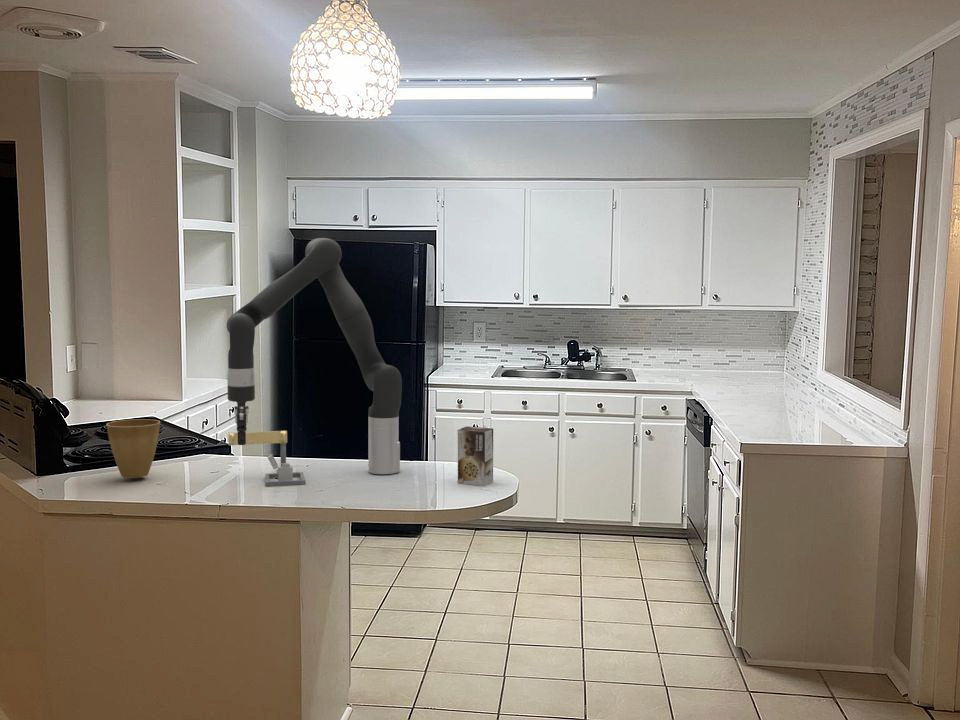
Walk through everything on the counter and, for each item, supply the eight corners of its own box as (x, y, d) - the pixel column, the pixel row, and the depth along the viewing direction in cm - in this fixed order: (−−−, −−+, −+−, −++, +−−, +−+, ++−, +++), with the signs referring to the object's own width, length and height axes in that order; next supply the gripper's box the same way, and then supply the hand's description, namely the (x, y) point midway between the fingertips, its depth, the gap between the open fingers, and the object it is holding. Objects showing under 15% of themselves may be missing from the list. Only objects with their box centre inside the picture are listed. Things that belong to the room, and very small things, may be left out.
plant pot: (170, 475, 260) (168, 422, 259) (120, 483, 250) (118, 428, 248) (148, 467, 271) (147, 416, 269) (99, 474, 260) (98, 422, 259)
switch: (301, 471, 268) (301, 441, 267) (305, 484, 252) (305, 453, 251) (264, 472, 265) (264, 443, 265) (266, 486, 249) (265, 454, 248)
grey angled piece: (292, 480, 256) (292, 453, 256) (292, 481, 255) (292, 454, 254) (268, 480, 256) (267, 453, 255) (267, 482, 254) (267, 455, 253)
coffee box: (493, 482, 257) (494, 428, 256) (484, 486, 251) (485, 431, 250) (466, 478, 261) (466, 425, 259) (456, 483, 255) (457, 428, 254)
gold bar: (287, 443, 263) (287, 431, 263) (228, 445, 258) (228, 434, 258) (286, 441, 266) (286, 430, 265) (228, 444, 261) (228, 432, 260)
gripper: (255, 386, 242) (255, 448, 243) (254, 380, 255) (254, 439, 257) (227, 387, 240) (227, 449, 241) (227, 381, 253) (228, 439, 255)
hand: (241, 443), depth 249 cm, fingers closed
